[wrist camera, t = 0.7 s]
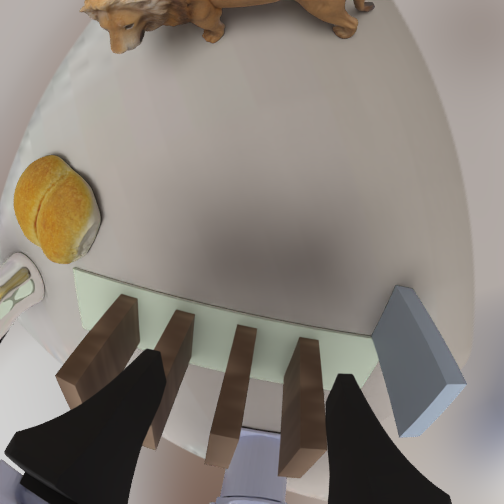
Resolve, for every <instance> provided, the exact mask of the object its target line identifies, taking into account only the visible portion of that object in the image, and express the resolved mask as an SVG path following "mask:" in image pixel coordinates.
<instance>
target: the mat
mask: <svg viewBox="0 0 504 504" xmlns="http://www.w3.org/2000/svg"><path fill="white" fill-rule="evenodd" d="M73 273H74V280H75V287H76V294H77V300H78V306H79V311H80V316H81V321H82V326H83V328H84V329H86V330H89V331H90V330H91V329H92V328H93V327H94V325H95V324H96V323H97V322H98V320H99V319H100V318H101V317H102V316H103V314H104V313H105V312H106V311H107V310H108V308H109V307H110V306H111V305H112V304H113V303H114V301H115V300H116V299H117V298H118V297H119V296H120V294H124V295H127V296H131V297H134V298H137V299H138V315H139V332H140V343H139V345H138V346H137V348H139V349H142V350H145V349H147V348H148V349H152V350H154V348H155V346H156V345H157V343H158V341H159V339H160V337H161V335H162V333H163V332H164V330H165V328H166V326H167V324H168V323H169V321H170V319H171V317H172V315H173V314H174V312H175V310H176V309H177V310H181V311H185V312H188V313H192V314H195V320H194V331H193V343H192V355H191V359H190V362H189V364H193V365H196V366H200V367H204V368H208V369H212V370H217V371H221V372H225V371H226V367H227V363H228V359H229V355H230V351H231V347H232V343H233V339H234V335H235V331H236V327H237V324H239V325H243V326H248V327H252V328H257V334H256V341H255V347H254V353H253V360H252V366H251V372H250V378H254V379H259V380H264V381H270V382H275V383H281V384H283V380H284V375H285V372H286V370H287V367H288V365H289V362H290V360H291V357H292V355H293V352H294V350H295V347H296V345H297V342H298V339H299V337H304V338H309V339H315V340H319V348H320V358H321V369H322V380H323V390H331V389H332V387H333V384H334V382H335V379H336V377H337V374H338V373H342V374H353V375H354V377H355V379H356V381H357V383H358V385H359V387H360V389H361V388H362V386H363V385H364V383H365V382H366V380H367V379H368V377H369V375H370V374H371V372H372V371H373V369H374V368H375V366H376V364H377V363H378V361H379V359H378V356H377V352H376V349H375V346H374V343H373V340H372V336H366V335H359V334H353V333H347V332H341V331H335V330H329V329H323V328H317V327H312V326H306V325H301V324H296V323H290V322H285V321H280V320H275V319H270V318H265V317H261V316H256V315H251V314H247V313H242V312H238V311H233V310H229V309H224V308H220V307H216V306H212V305H207V304H203V303H199V302H195V301H191V300H187V299H183V298H179V297H175V296H172V295H168V294H164V293H160V292H156V291H153V290H149V289H146V288H142V287H138V286H135V285H131V284H128V283H124V282H121V281H118V280H114V279H111V278H108V277H104V276H101V275H98V274H94V273H91V272H88V271H85V270H82V269H79V268H76V267H74V268H73Z"/></svg>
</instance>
